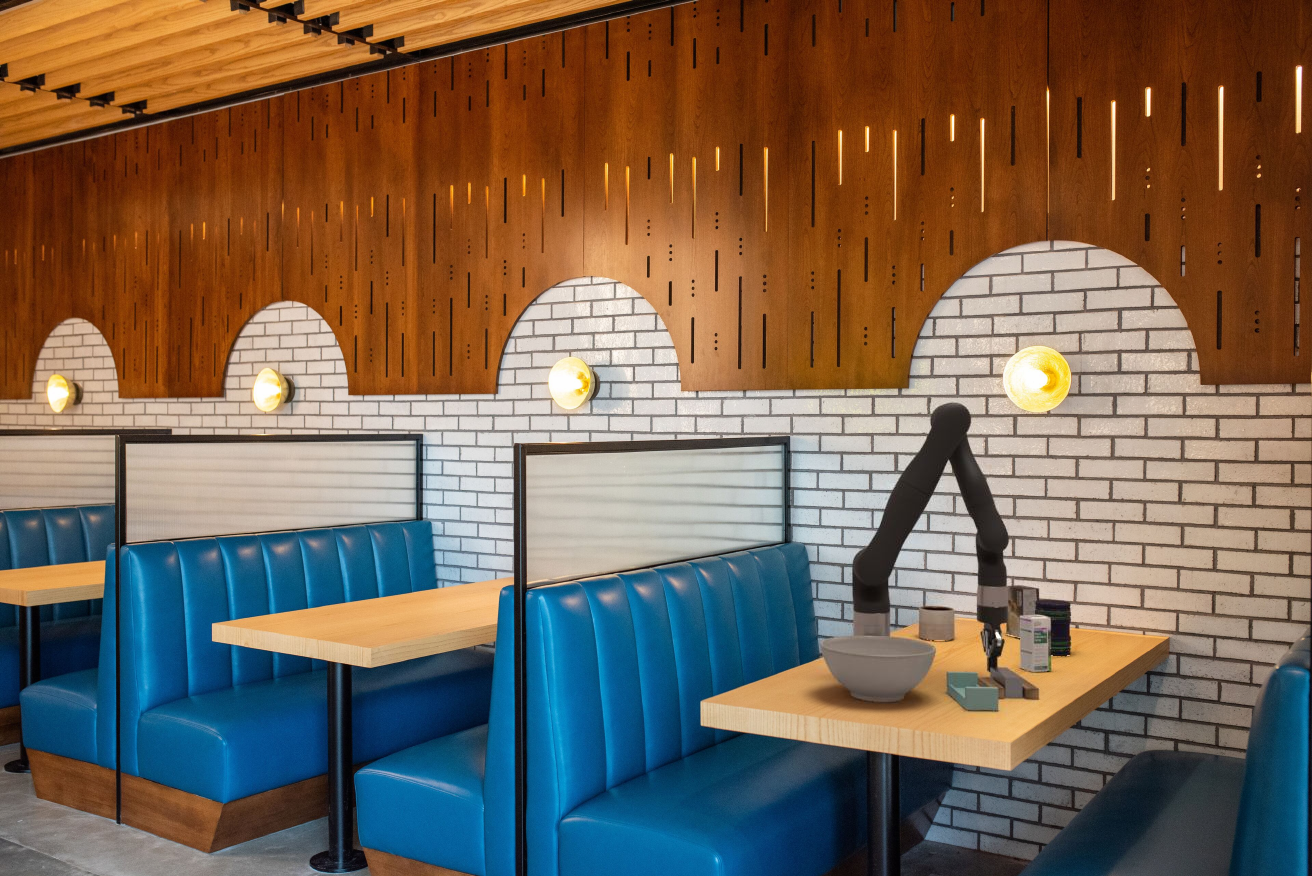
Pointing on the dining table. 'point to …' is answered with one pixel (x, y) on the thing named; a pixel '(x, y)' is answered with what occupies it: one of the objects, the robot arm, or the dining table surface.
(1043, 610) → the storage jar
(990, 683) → the slotted beam
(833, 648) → the decorative bowl
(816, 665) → the dining table surface
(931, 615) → the planter
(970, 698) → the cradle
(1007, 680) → the grey rectangular block
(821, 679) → the dining table surface
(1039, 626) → the syrup box
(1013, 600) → the coffee box
